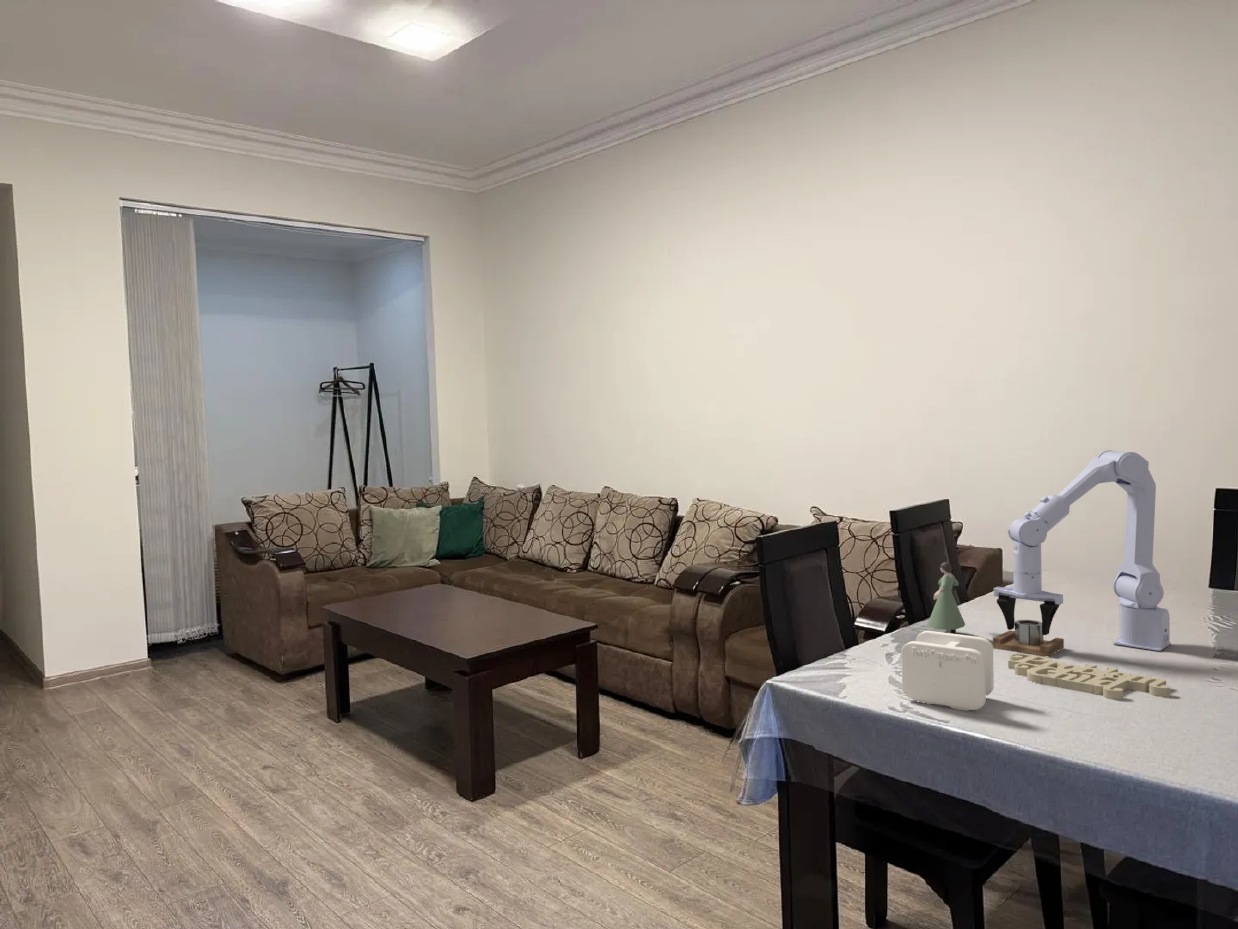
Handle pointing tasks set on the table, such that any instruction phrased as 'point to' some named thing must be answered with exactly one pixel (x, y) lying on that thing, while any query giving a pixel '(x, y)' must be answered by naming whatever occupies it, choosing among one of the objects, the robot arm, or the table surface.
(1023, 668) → the decorative sign
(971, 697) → the cable organizer
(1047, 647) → the shaft block
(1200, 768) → the table surface
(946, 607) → the character figurine
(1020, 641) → the tube
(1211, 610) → the table surface
